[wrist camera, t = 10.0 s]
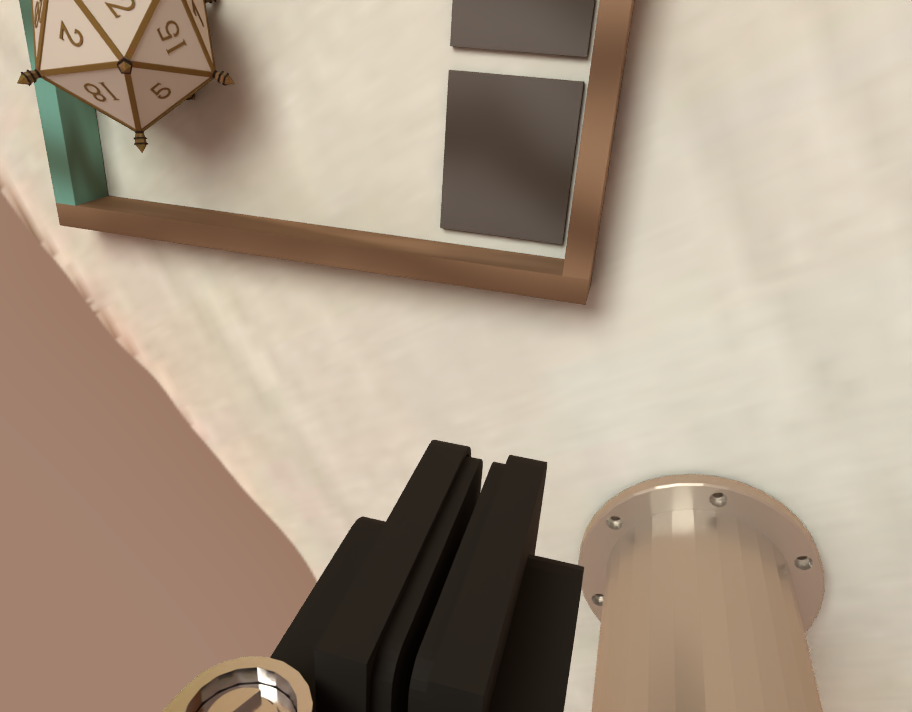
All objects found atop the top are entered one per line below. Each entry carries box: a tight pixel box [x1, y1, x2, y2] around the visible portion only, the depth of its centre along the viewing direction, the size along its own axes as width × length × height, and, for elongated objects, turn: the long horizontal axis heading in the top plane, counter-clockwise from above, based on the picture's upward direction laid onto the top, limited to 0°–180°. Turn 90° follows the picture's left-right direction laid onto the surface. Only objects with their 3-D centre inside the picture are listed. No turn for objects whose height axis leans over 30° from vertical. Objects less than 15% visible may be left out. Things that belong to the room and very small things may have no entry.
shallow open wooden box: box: [19, 0, 635, 305], centre depth 32 cm, size 19×28×2 cm
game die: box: [17, 0, 234, 153], centre depth 31 cm, size 9×8×10 cm
